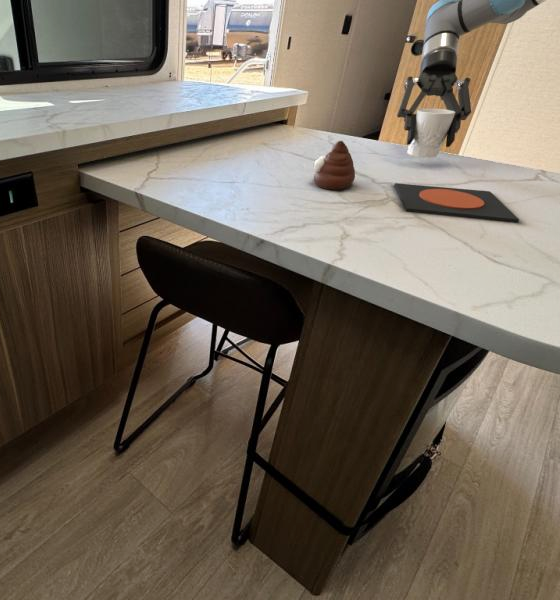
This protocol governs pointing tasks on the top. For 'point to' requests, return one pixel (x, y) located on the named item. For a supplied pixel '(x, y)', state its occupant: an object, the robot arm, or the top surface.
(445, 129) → the white cup
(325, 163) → the poop emoji
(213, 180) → the top surface
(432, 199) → the placemat
